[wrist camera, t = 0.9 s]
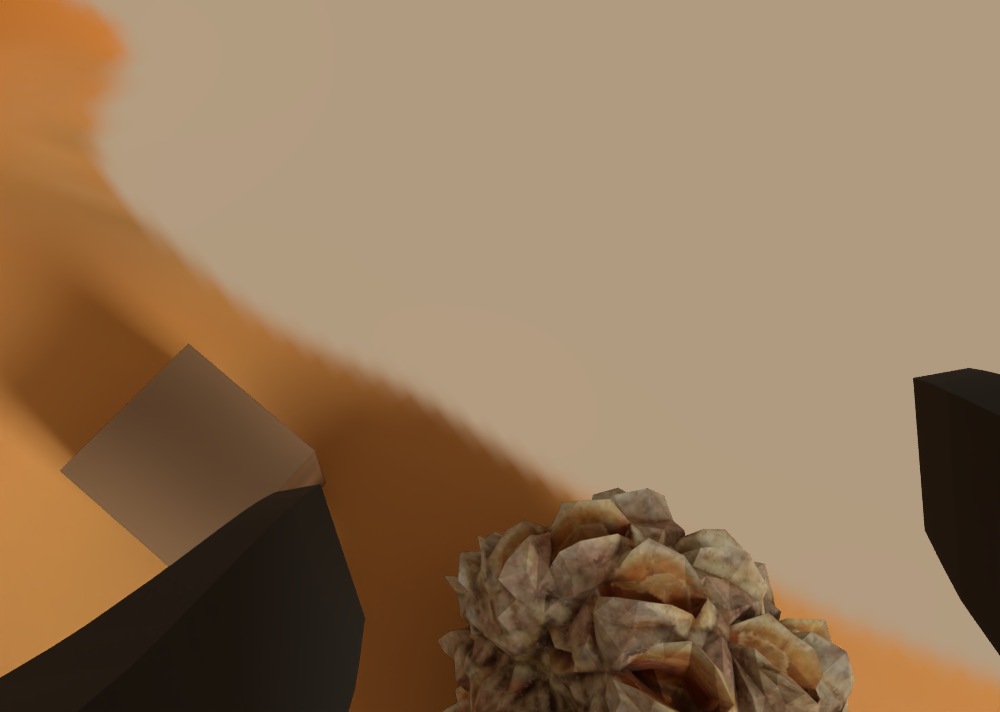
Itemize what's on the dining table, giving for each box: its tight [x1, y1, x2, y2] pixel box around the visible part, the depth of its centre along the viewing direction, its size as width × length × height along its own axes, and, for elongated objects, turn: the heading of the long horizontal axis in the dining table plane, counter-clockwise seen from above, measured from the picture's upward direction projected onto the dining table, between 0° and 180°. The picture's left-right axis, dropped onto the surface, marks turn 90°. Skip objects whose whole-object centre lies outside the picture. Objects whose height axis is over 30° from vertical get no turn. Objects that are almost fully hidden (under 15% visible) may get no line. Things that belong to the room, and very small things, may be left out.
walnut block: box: [60, 344, 325, 566], centre depth 23 cm, size 4×4×5 cm
